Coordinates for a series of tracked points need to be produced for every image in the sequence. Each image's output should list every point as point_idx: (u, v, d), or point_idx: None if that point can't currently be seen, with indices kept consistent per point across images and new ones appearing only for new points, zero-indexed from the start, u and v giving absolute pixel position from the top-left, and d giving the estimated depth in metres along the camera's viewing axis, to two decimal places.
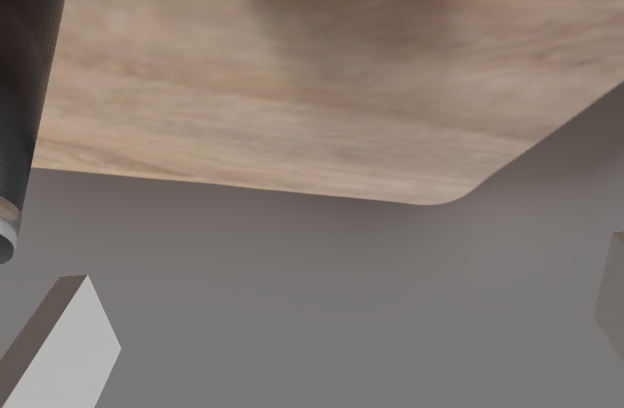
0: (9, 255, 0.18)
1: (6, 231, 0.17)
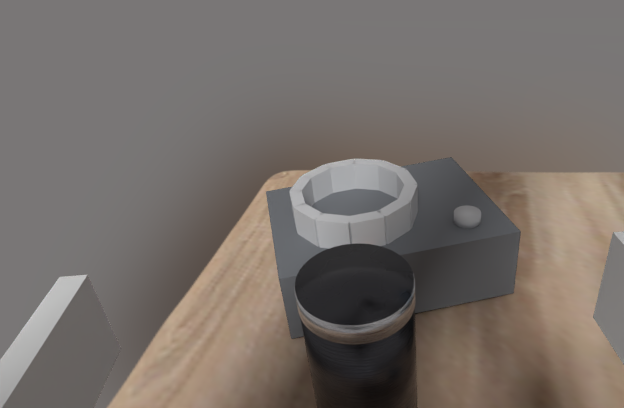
0: (325, 316, 0.23)
1: (355, 328, 0.23)
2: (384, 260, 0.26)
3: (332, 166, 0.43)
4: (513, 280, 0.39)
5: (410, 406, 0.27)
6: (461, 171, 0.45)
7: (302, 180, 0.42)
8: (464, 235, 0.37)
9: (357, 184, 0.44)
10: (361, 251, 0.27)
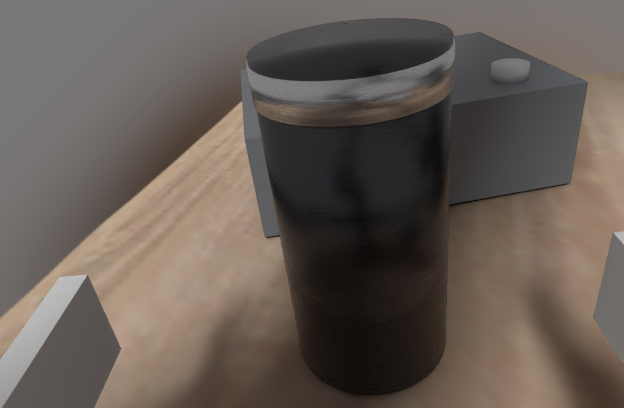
0: (294, 71, 0.13)
1: (349, 88, 0.12)
2: (400, 25, 0.15)
3: None
4: (572, 162, 0.28)
5: (439, 283, 0.17)
6: (495, 41, 0.34)
7: None
8: (508, 89, 0.26)
9: None
10: (361, 23, 0.16)
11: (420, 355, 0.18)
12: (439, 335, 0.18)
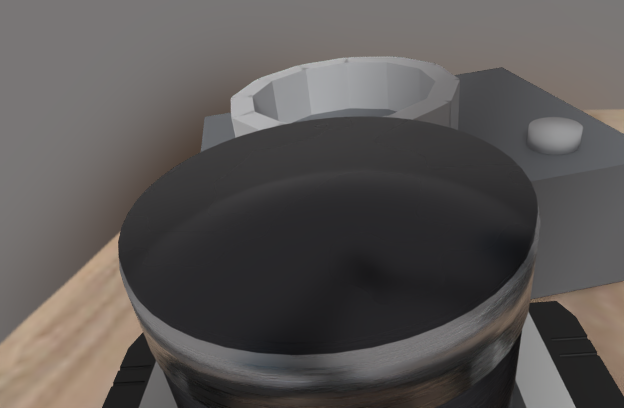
0: (191, 316, 0.05)
1: (316, 370, 0.05)
2: (420, 145, 0.08)
3: (309, 67, 0.26)
4: None
5: None
6: (523, 82, 0.27)
7: (256, 84, 0.24)
8: (554, 164, 0.19)
9: (351, 100, 0.27)
10: (350, 130, 0.09)
11: None
12: None
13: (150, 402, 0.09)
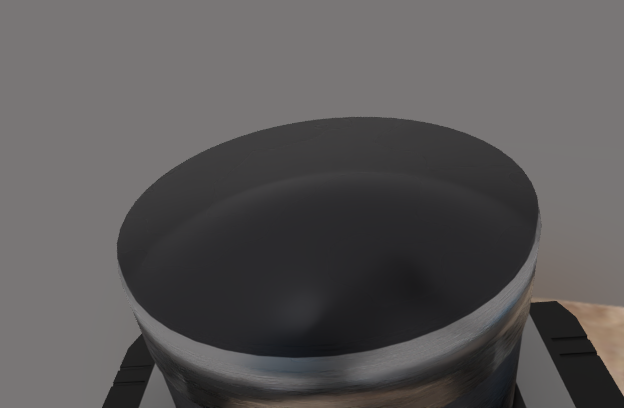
0: (190, 318, 0.05)
1: (315, 373, 0.05)
2: (420, 146, 0.08)
3: None
4: None
5: None
6: None
7: None
8: None
9: None
10: (350, 131, 0.09)
11: None
12: None
13: (150, 402, 0.09)
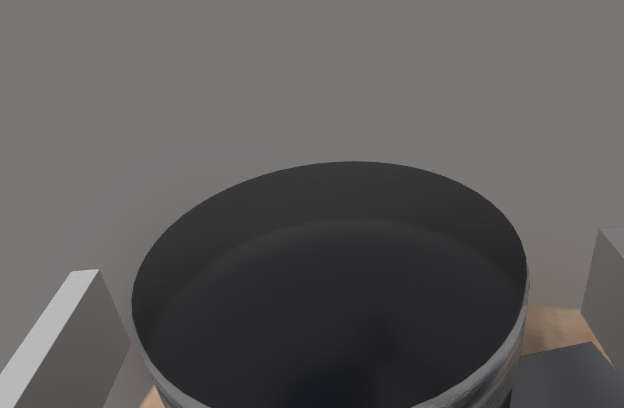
0: (203, 385, 0.06)
1: None
2: (417, 197, 0.09)
3: None
4: None
5: None
6: None
7: None
8: None
9: None
10: (349, 177, 0.10)
11: None
12: None
13: None
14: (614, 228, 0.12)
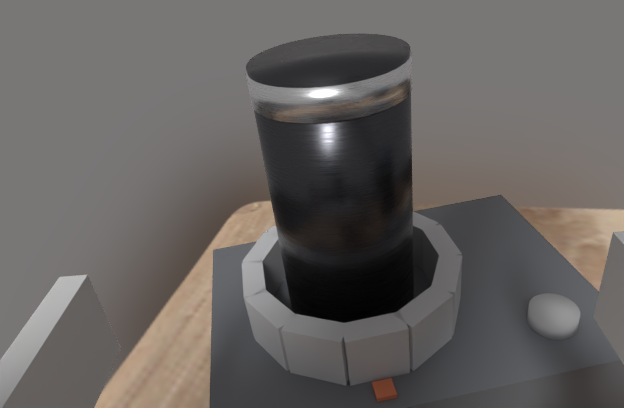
0: (284, 80, 0.16)
1: (327, 93, 0.16)
2: (370, 41, 0.19)
3: None
4: None
5: (405, 251, 0.21)
6: (521, 220, 0.28)
7: (265, 241, 0.25)
8: (554, 355, 0.20)
9: None
10: (339, 38, 0.20)
11: (391, 311, 0.21)
12: (407, 296, 0.22)
13: None
14: None
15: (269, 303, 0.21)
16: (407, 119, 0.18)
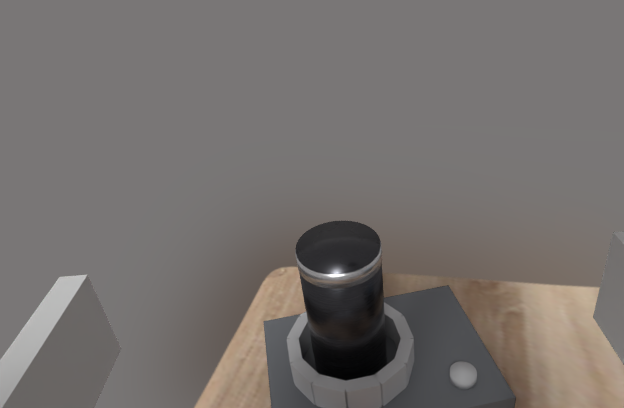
0: (317, 268, 0.33)
1: (337, 277, 0.33)
2: (360, 232, 0.36)
3: None
4: None
5: (379, 340, 0.38)
6: (458, 306, 0.45)
7: (299, 323, 0.42)
8: (460, 398, 0.37)
9: None
10: (344, 226, 0.37)
11: (372, 372, 0.38)
12: (381, 362, 0.39)
13: None
14: None
15: (304, 367, 0.38)
16: (379, 278, 0.35)
